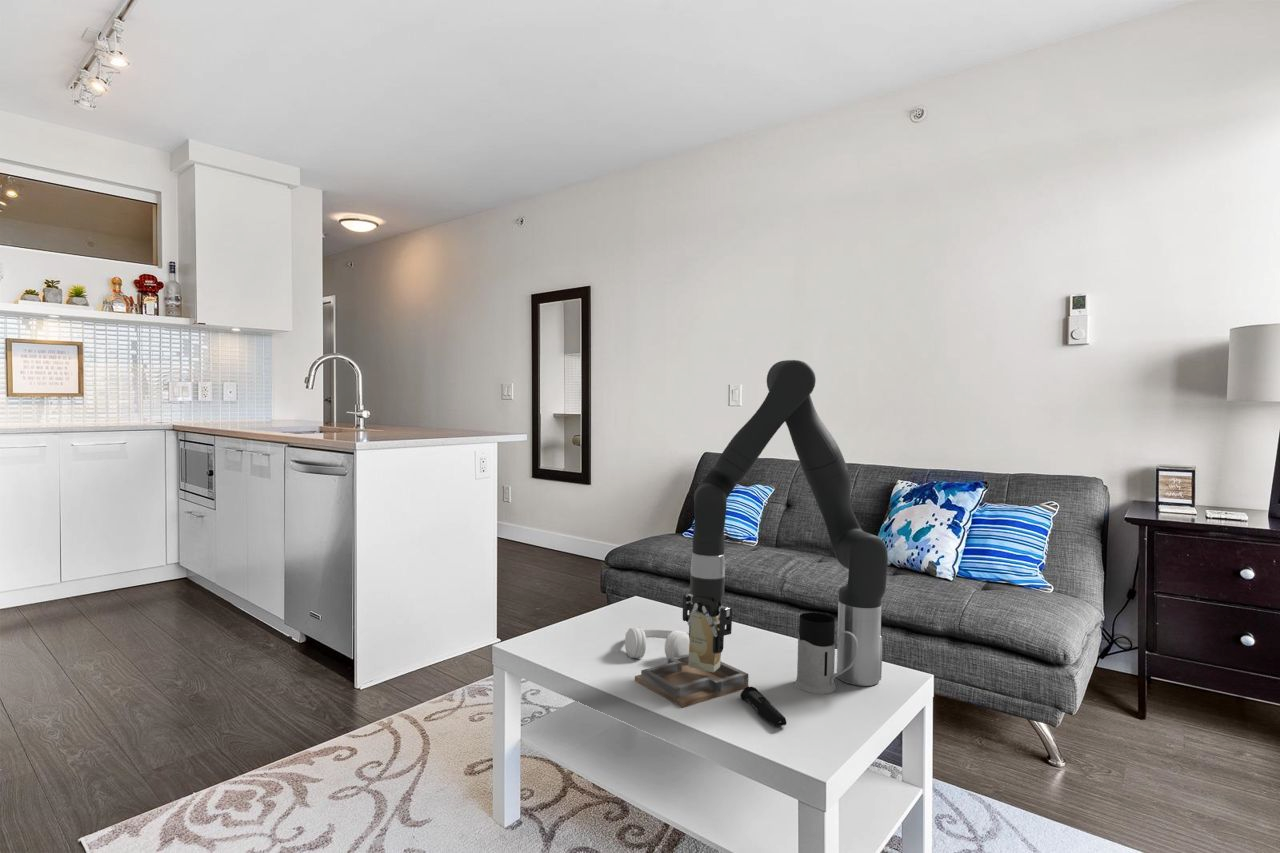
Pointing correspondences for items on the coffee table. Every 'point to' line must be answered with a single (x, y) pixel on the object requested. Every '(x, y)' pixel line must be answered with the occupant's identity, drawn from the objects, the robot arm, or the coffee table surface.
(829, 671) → the glass holder
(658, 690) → the keyhole board
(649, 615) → the coffee table surface
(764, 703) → the electric trimmer
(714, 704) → the coffee table surface
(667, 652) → the headphones
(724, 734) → the coffee table surface
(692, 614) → the skincare box
